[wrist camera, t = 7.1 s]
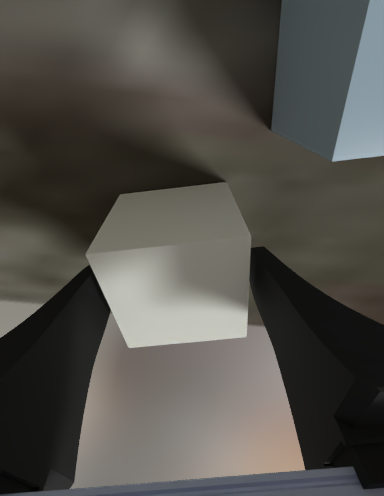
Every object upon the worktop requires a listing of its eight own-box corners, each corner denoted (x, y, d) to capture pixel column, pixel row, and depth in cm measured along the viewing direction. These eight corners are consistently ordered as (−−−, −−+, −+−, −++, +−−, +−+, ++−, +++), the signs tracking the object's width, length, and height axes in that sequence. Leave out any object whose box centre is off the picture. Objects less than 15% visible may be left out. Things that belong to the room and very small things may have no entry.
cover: (226, 182, 12) (251, 236, 8) (228, 265, 16) (246, 337, 11) (120, 194, 13) (85, 254, 8) (144, 273, 16) (129, 348, 11)
